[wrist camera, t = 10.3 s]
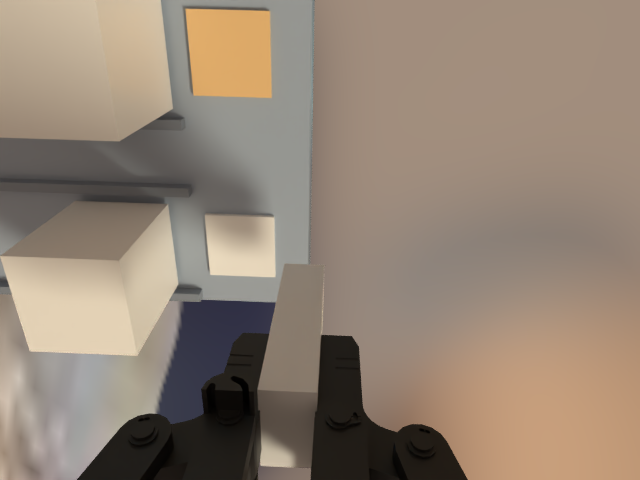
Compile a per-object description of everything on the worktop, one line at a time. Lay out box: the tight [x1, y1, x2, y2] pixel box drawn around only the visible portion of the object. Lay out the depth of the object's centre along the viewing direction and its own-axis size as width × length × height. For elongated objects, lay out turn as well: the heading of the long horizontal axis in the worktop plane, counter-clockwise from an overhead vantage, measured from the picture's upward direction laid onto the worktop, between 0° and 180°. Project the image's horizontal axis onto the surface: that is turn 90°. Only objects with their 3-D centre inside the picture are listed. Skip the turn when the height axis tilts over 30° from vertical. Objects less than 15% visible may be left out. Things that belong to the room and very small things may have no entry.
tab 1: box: [0, 0, 173, 141], centre depth 15 cm, size 4×4×5 cm
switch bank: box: [0, 0, 315, 302], centre depth 20 cm, size 14×26×2 cm, turn 89°
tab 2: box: [0, 201, 178, 356], centre depth 19 cm, size 4×4×5 cm
